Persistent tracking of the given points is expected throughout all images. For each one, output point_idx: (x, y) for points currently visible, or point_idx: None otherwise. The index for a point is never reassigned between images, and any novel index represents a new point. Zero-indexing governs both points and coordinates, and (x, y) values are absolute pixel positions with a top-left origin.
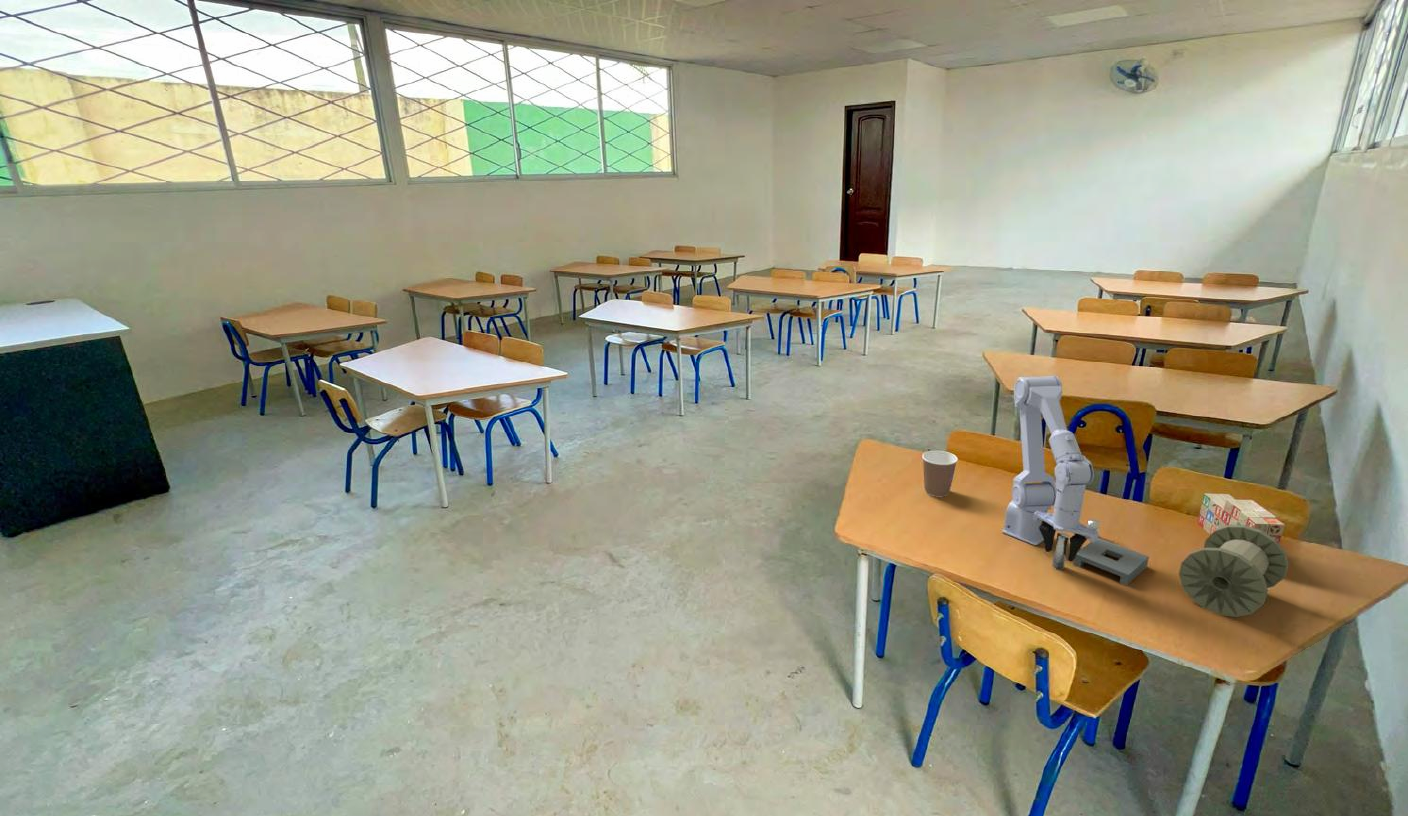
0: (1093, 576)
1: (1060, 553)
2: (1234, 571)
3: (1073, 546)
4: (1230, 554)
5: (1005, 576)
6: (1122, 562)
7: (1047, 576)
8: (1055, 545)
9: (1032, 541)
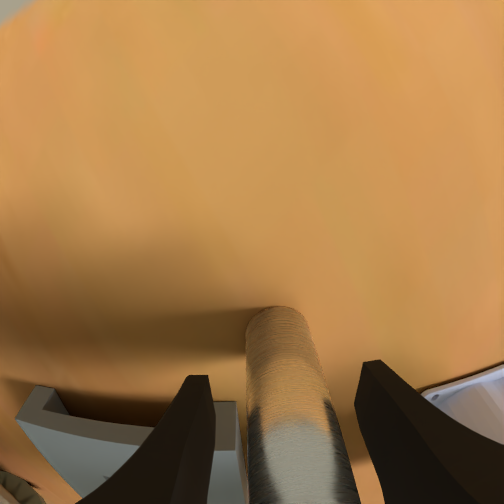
0: (122, 374)
1: (273, 395)
2: None
3: (130, 498)
4: None
5: (420, 7)
6: (89, 475)
7: (265, 186)
8: (340, 436)
9: (439, 399)
